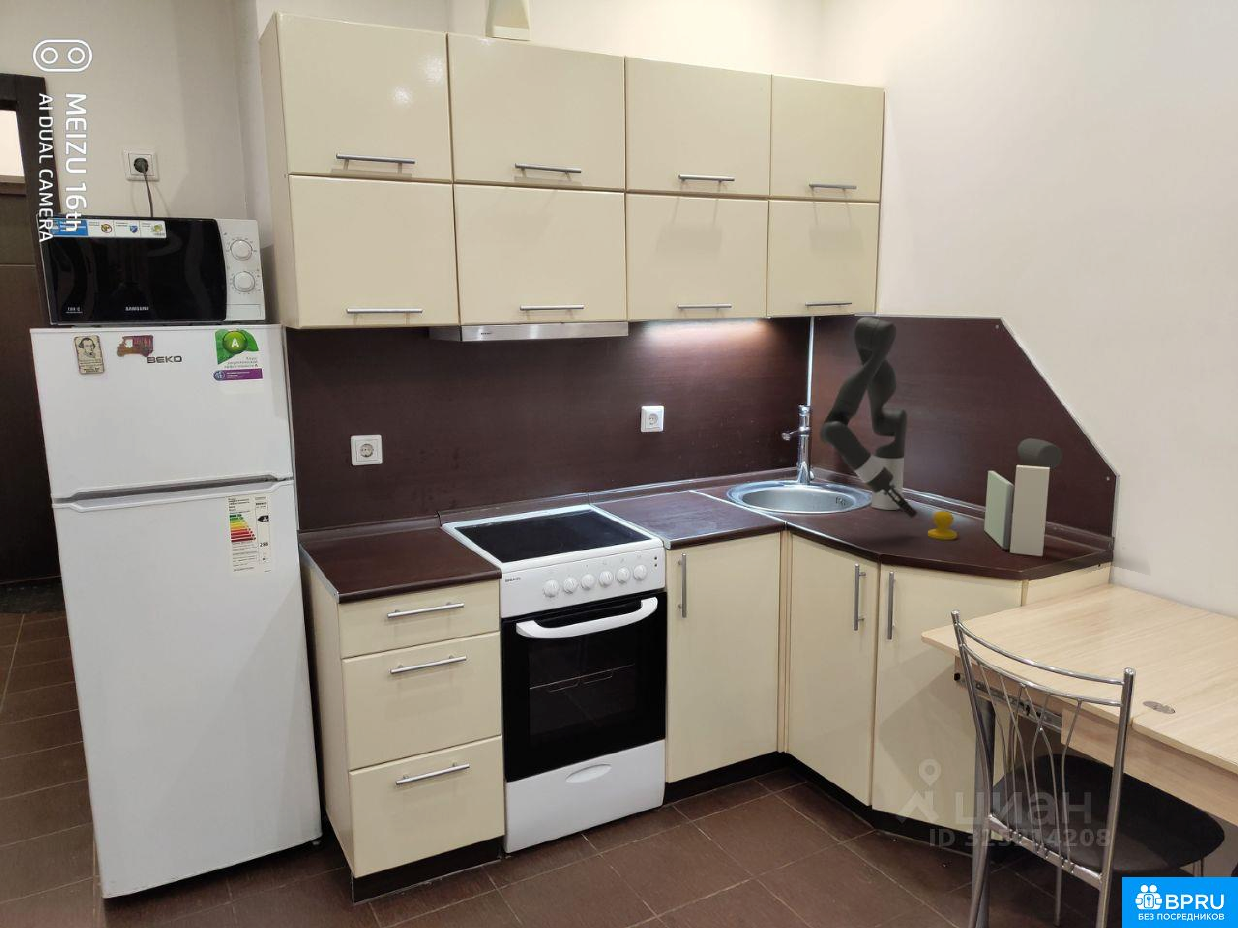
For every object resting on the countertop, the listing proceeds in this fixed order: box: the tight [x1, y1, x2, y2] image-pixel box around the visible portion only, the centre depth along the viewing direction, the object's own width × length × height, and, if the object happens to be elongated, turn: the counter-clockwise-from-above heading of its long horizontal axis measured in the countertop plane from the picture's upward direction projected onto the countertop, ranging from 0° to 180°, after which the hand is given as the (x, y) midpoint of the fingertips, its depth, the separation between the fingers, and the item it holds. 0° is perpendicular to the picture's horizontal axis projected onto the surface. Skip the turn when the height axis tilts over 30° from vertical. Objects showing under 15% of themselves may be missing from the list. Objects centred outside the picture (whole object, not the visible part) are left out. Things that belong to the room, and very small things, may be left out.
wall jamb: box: [1009, 464, 1051, 557], centre depth 240 cm, size 8×3×24 cm, turn 62°
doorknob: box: [927, 510, 958, 541], centre depth 260 cm, size 8×8×8 cm
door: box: [983, 470, 1015, 550], centre depth 252 cm, size 21×2×18 cm, turn 172°
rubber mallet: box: [1017, 437, 1063, 470], centre depth 248 cm, size 12×8×30 cm, turn 3°
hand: (914, 515), depth 260 cm, fingers closed
